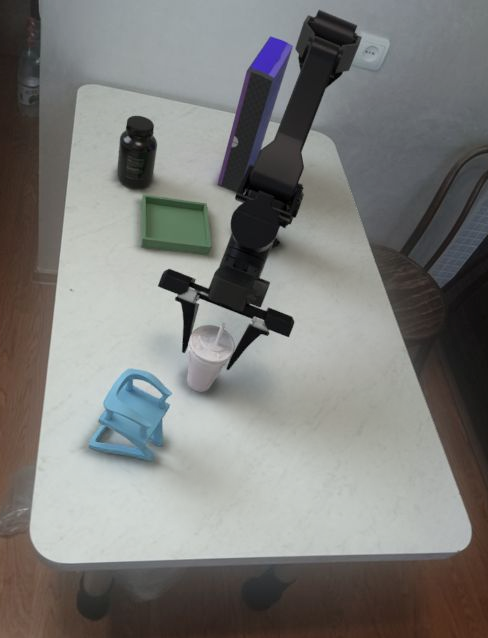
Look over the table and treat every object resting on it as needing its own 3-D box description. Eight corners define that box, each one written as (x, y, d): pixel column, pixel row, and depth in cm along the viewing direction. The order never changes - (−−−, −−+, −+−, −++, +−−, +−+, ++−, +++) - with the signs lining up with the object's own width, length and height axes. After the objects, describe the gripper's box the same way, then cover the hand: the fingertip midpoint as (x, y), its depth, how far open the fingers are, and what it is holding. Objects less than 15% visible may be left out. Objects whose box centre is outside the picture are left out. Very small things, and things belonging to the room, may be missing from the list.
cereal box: (240, 144, 122) (270, 35, 104) (259, 152, 123) (293, 44, 104) (217, 184, 111) (247, 69, 93) (238, 193, 111) (272, 80, 93)
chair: (143, 476, 70) (155, 432, 61) (87, 446, 70) (90, 398, 61) (171, 430, 75) (185, 383, 66) (118, 403, 75) (125, 352, 66)
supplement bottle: (159, 181, 107) (167, 126, 98) (136, 194, 103) (143, 138, 94) (132, 163, 108) (138, 107, 99) (109, 176, 104) (113, 119, 95)
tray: (204, 211, 105) (206, 203, 103) (209, 255, 98) (211, 247, 96) (141, 202, 102) (142, 194, 100) (141, 247, 95) (142, 238, 93)
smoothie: (214, 405, 79) (237, 348, 68) (172, 391, 79) (189, 332, 68) (224, 371, 83) (247, 313, 72) (184, 358, 83) (202, 297, 72)
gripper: (173, 220, 65) (129, 341, 66) (317, 277, 66) (270, 395, 67) (184, 232, 76) (146, 335, 77) (307, 280, 77) (267, 381, 78)
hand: (205, 361), depth 75 cm, fingers closed on smoothie, 6 cm apart
